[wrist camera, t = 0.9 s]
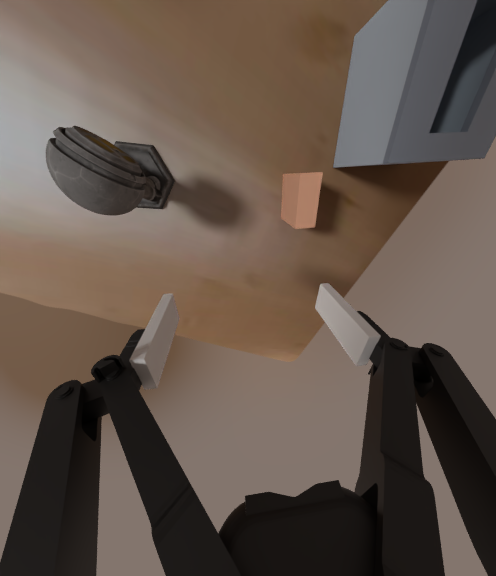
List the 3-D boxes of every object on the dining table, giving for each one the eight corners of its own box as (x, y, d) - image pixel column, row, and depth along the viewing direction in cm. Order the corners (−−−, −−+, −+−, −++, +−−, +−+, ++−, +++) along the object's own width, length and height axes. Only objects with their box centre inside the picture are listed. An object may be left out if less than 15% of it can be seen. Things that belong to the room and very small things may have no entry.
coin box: (354, 36, 23) (456, -72, 13) (441, 35, 24) (599, -66, 14) (333, 167, 31) (387, 163, 21) (400, 163, 32) (484, 158, 21)
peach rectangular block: (283, 173, 30) (300, 173, 24) (300, 172, 31) (322, 172, 24) (281, 218, 34) (295, 228, 27) (296, 217, 34) (314, 227, 28)
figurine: (181, 165, 28) (147, 157, 16) (156, 221, 32) (113, 252, 19) (121, 122, 25) (15, 67, 12) (101, 190, 29) (5, 202, 16)
